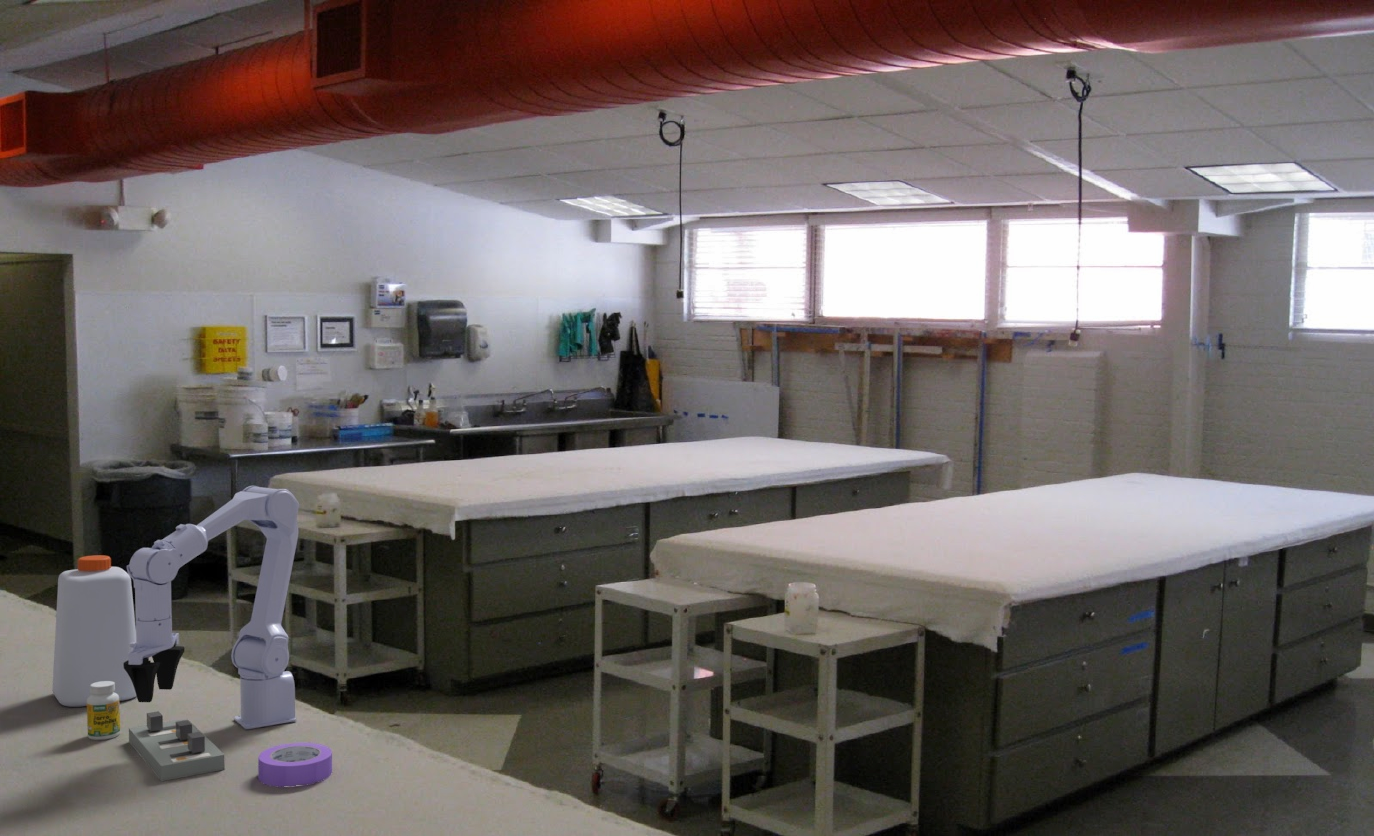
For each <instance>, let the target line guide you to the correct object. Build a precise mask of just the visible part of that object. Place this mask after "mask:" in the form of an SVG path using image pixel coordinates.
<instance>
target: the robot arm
mask: <svg viewBox="0 0 1374 836" xmlns="http://www.w3.org/2000/svg"><path fill="white" fill-rule="evenodd" d="M299 508H300V503H299V501H298V499H297V498H296V497H295V495H294V494H293V493H292V492H291V491H290V490H288V489H286V488H271V487H261V486H258V485H249V486H246V487H245V488H243V490H241V491H238V492H235V494H234V496H233V497H232V499H231V500H229V501H228V502H227V503H225V504H224V505H222V506H221V507H220V508H218V509H217V510H216V511H214V512H212V513H211V514H210V515H209V516H207V517H205V519H204V520H202V521H201V522H199V523H197V524H192V523H186V524H182V523H180V524H179V525H177V526H176V527H175V531H173V532H172V533H170V534H169V535H166V536H165V537H164V538H163V539H157V540H156V541H154V542H153V545H152V546H151V547H141V548H139V549H137V550H136V551H135V552H134V553H133V555H132V556H131V558H130V561H129V564H128V565H126V570H127V571H126V572H127V573H128V574H129V576H130V578H131V580H132V581H133V588H134V593H135V594H134V595H135V596H134V597H135V599H134V600H135V628H136V641H134V642H132V643H130V647H131V648H133V650H132V651H131V652H130V653H129V654H128V659H129V660H128V661H126V662H124V663H123V666H124V669H125V671H126V672H127V673H128V675H129V677H130V679H131V681H132V683H133V686H134V689H135V692H136V699H137V702H138V703H151V702H152V700H153V698H154V690H155V689H154V688H155V680H156V681H157V686H158V689H159V690H166V691H167V690H170V691H171V690H172V689H173V686H174V682H175V679H176V674H177V670H178V667H179V663H180V660H181V659H182V657H183V654H184V653H185V646H181V645H179V644H180V633H179V632H173V616H172V581H174V580H175V578H176V576H177V575H178V571H179V569H180V568H182V567H183V566H184V565H185V564H187V563H189V562H191V561H192V560H193V559H195V558H196V557H197V556H199V555H201V554H203V553H204V552H206V550H207V549H208V545H209V541H210V540H212V539H214V538H215V537H217V536H219V535H220V534H223V533H224V532H226V531H228V530H229V529H231V528H233V527H234V526H237V525H238V524H240V523H241V522H243V521H248V522H250V523H252V524H254V525H255V526H257V527H258V529H259V530H260V531H261V533H262V535H264V536H265V538H266V541H265V547H264V551H263V558H262V560H261V561H262V562H261V567H260V573H259V577H258V582H257V587H256V592H255V596H254V597H255V598H254V602H253V607H252V613H251V618H250V621H249V622H248V623H247V624H245V625H244V626H243V627H242V628H241V629H239V636H238V638H237V640H236V642H235V643H234V645H233V646H232V650H231V652H230V654H231V657H230V658H231V662H232V664H233V666H234V667H236V669H237V671H238V672H237V673H238V675H240V676H239V679H240V680H239V681H240V683H239V685H240V687H239V688H240V689H239V690H240V715H235V716H234V717H233V720H235V722H237V724H239V725H240V726H241V727H243V728H244V729H245V730H250V729H257V728H263V727H268V726H274V725H280V724H287V723H292V722H293V723H294V722H296V721H297V718H296V687H295V680H294V679H295V678H294V676H293V673H292V672H291V671H289V670H286V668H287V667H288V665H289V660H290V653H289V639H290V638H289V636H288V634H287V632H286V631H285V629H284V628H283V626H282V620H283V617H284V611H285V606H286V600H287V594H288V590H289V586H290V580H291V574H292V570H293V564H294V560H295V553H296V550H297V544H298V539H299V524H298V513H299ZM178 645H179V646H178ZM150 658H152V660H153V661H152V662H151V660H150ZM285 670H286V671H285Z"/></svg>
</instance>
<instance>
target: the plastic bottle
mask: <svg viewBox="0 0 1374 836" xmlns="http://www.w3.org/2000/svg"><path fill="white" fill-rule="evenodd" d="M57 578H58V579H57V597H56V615H55V633H54V634H55V635H54V651H53V652H54V653H53V654H54V656H53V669H52V670H53V674H52V675H53V676H52V693H53V696H55V698H56V700H57V701H58V703H59V704H61V705H62V706H64V707H65V706H66V707H71V708H79V707H80V708H81V707H87V699H88V697H89V696H91V695H92V693H91V692H90V685H91V684H93V683H96V682H101V681H112V682H114V683H115V690H114V691H113V692H114V693H116V694H118V696H119V702H122V701H128V700H131V699H134V698H137V696H136V692H135V689H134V686H133V683H132V681H131V679H130V677H129V675H128V673H127V672H126V671H125V669H124V666H123V663H124V662H126V661H128V660H129V659H128V654H129V653H130V652H131V651H132V650H133V648H131V647H130V643H132V642H134V641H136V616H135V610H134V609H135V608H134V599H133V598H134V597H133V587H132V578H131V577H130V575H129V574H128V571H126V570H124V569H123V568H121V567H119V566H112V558H111V557H110V556H109V555H103V554H102V555H100V554H99V555H98V554H96V555H86V556H82V557H79V558H78V559H77V569H70V570H64V571H63V572H61V573H60V574H59V575H58V577H57Z"/></svg>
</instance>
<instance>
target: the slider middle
mask: <svg viewBox="0 0 1374 836" xmlns="http://www.w3.org/2000/svg"><path fill="white" fill-rule="evenodd" d="M188 720H189V719H188ZM188 720H183V721H177V722H176V737H177V738H178V739H179V740H186V739H188V734H189V733H192V724H193V723H192V722H191V721H190V720H189V721H190V722H191V723H192V724H191V723H190V722H189V721H188Z"/></svg>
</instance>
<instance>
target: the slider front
mask: <svg viewBox="0 0 1374 836" xmlns="http://www.w3.org/2000/svg"><path fill="white" fill-rule="evenodd" d="M201 732H202V731H201ZM201 732H195V733H189V734H188V749H189V750H190V751H191V752H192V753H196V752H202V751H205V736H206V735H205V734H204V733H203V734H204V735H205V736H204V735H203V734H202V733H201Z"/></svg>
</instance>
